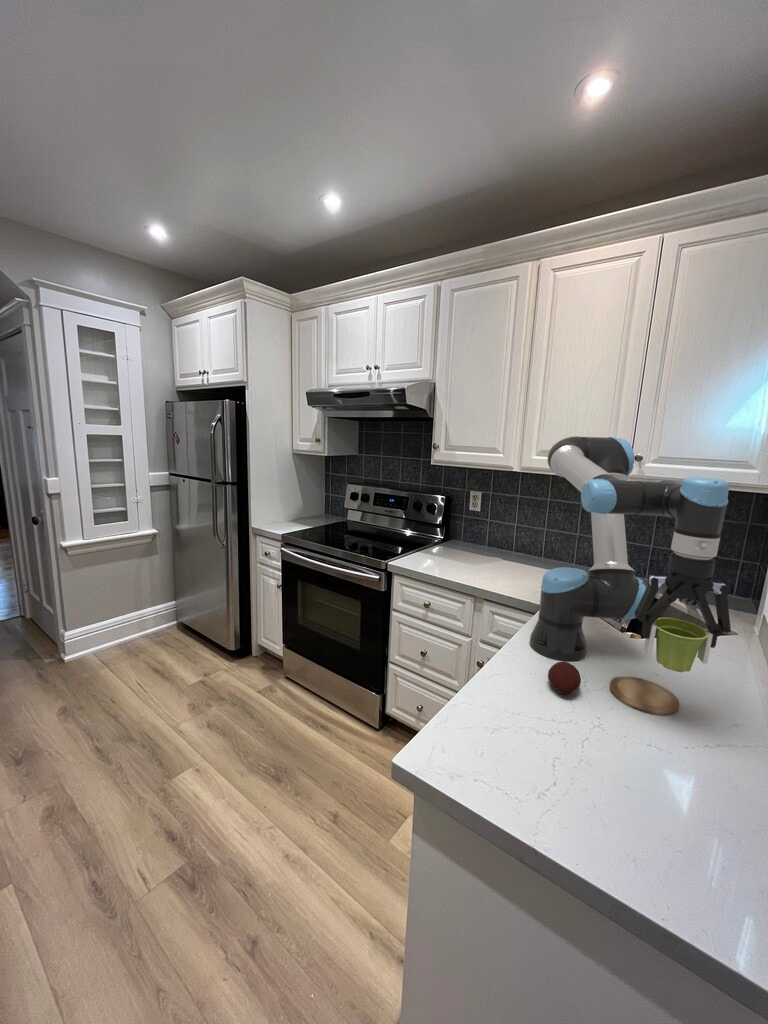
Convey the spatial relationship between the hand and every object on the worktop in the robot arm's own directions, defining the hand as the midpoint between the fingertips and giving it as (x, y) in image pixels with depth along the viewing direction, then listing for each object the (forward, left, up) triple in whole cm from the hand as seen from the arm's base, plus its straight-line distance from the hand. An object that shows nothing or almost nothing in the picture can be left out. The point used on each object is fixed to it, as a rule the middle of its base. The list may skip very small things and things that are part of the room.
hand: (674, 655), depth 89 cm
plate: (-2, +8, -15) cm, 17 cm away
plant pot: (0, 0, -2) cm, 2 cm away
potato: (-20, +5, -15) cm, 26 cm away
